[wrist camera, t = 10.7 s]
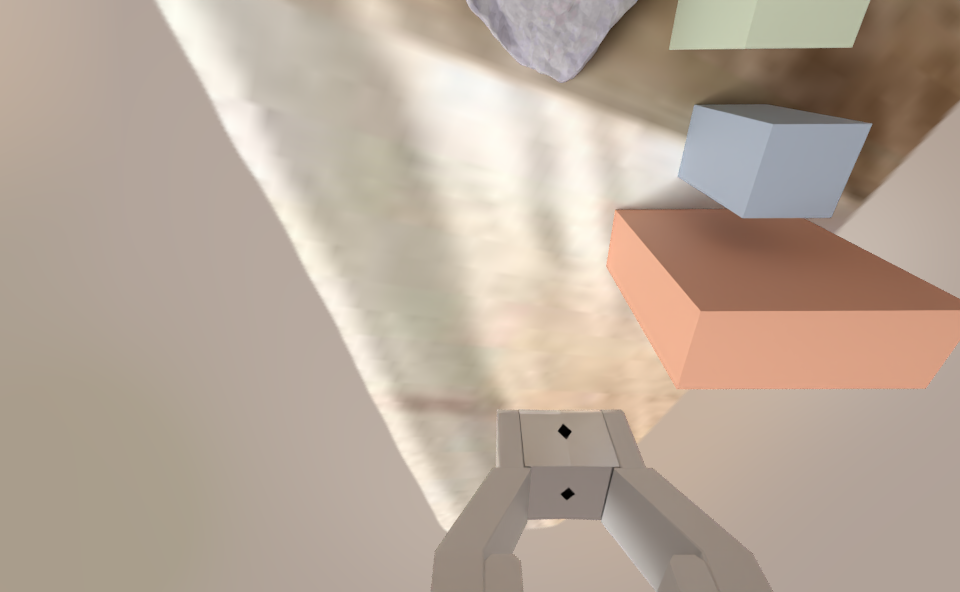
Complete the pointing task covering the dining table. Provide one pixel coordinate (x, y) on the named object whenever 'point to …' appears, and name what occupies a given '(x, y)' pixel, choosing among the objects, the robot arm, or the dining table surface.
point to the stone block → (551, 30)
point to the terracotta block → (776, 304)
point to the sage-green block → (766, 24)
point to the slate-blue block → (771, 159)
